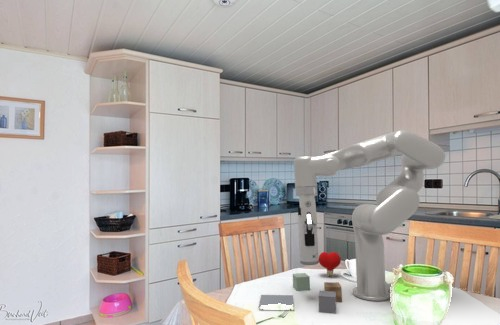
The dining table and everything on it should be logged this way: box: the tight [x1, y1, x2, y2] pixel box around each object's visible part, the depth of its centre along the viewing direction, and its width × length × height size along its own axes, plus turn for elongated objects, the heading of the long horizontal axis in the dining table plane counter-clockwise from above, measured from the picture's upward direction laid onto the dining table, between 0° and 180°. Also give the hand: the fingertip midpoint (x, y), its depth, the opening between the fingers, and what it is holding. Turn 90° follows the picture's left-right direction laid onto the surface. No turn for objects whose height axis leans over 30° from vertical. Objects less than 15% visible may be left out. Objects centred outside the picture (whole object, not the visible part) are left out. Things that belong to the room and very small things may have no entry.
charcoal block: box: [318, 290, 337, 315], centre depth 100 cm, size 5×5×5 cm
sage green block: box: [292, 272, 311, 292], centre depth 120 cm, size 5×5×5 cm
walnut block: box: [323, 281, 343, 303], centre depth 108 cm, size 5×5×5 cm
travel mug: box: [297, 205, 320, 266], centre depth 111 cm, size 6×7×20 cm
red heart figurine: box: [318, 251, 342, 277], centre depth 135 cm, size 9×7×10 cm
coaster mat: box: [258, 294, 295, 307], centre depth 105 cm, size 11×11×1 cm
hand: (309, 243), depth 110 cm, fingers closed on travel mug, 6 cm apart
